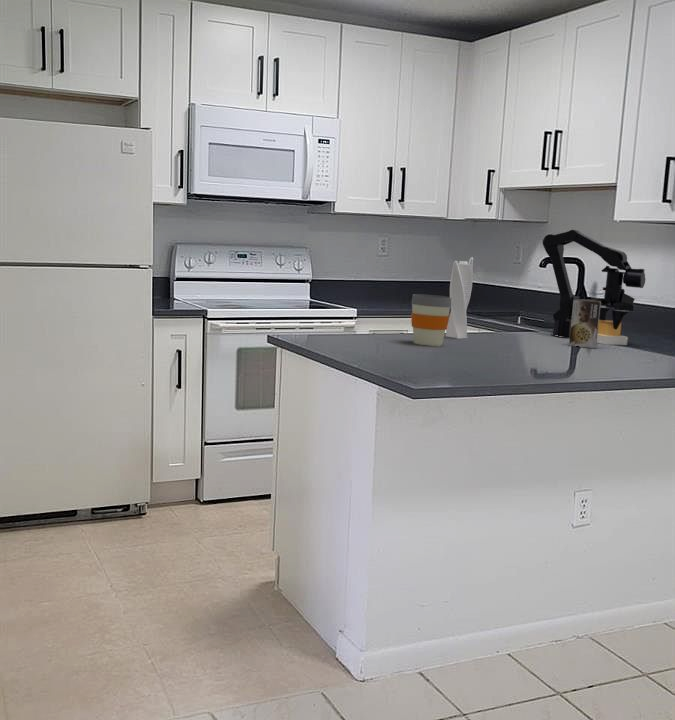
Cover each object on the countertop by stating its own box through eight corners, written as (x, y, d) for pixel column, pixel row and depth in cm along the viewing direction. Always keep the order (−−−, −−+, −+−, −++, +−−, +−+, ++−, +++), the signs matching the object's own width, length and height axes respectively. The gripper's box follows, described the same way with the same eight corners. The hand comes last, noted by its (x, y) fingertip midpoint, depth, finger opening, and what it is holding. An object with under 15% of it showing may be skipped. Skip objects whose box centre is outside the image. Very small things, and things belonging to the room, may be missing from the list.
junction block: (604, 344, 308) (606, 325, 307) (587, 340, 318) (589, 322, 317) (626, 345, 312) (629, 326, 311) (609, 341, 321) (611, 323, 320)
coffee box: (596, 347, 297) (601, 300, 295) (595, 348, 291) (601, 301, 289) (569, 344, 300) (574, 298, 298) (568, 345, 294) (573, 299, 292)
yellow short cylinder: (606, 335, 310) (607, 321, 310) (596, 333, 316) (597, 319, 315) (619, 336, 312) (621, 322, 312) (609, 333, 318) (611, 320, 317)
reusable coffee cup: (421, 346, 261) (426, 297, 259) (400, 340, 272) (404, 293, 270) (455, 346, 267) (460, 298, 264) (433, 341, 278) (437, 294, 275)
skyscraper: (473, 339, 294) (481, 257, 290) (459, 340, 288) (467, 257, 284) (453, 336, 299) (460, 256, 295) (439, 337, 294) (447, 255, 290)
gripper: (649, 288, 306) (643, 332, 308) (615, 284, 323) (610, 325, 325) (623, 287, 302) (617, 330, 304) (591, 283, 319) (586, 324, 322)
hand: (608, 327), depth 314 cm, fingers open, 8 cm apart
